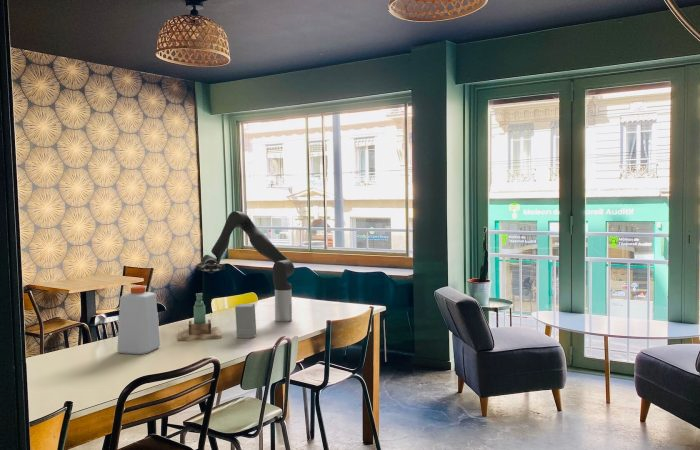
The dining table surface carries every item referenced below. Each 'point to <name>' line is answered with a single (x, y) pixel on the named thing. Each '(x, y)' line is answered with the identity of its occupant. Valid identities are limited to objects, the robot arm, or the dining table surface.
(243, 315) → the skincare box
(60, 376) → the dining table surface
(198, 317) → the bottle
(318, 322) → the dining table surface
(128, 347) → the plastic bottle
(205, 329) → the u rest
